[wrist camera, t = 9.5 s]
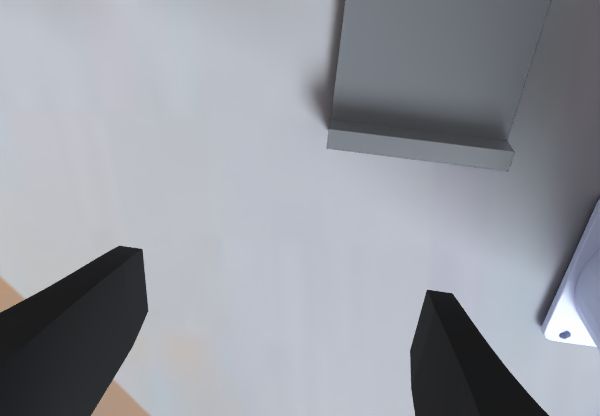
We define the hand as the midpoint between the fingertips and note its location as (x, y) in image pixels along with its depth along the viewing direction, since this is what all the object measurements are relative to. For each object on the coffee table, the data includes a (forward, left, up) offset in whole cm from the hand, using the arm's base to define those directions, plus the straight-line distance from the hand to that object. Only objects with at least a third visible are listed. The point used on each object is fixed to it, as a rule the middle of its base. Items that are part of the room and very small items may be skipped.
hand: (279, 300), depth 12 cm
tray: (-4, -5, -10) cm, 12 cm away
